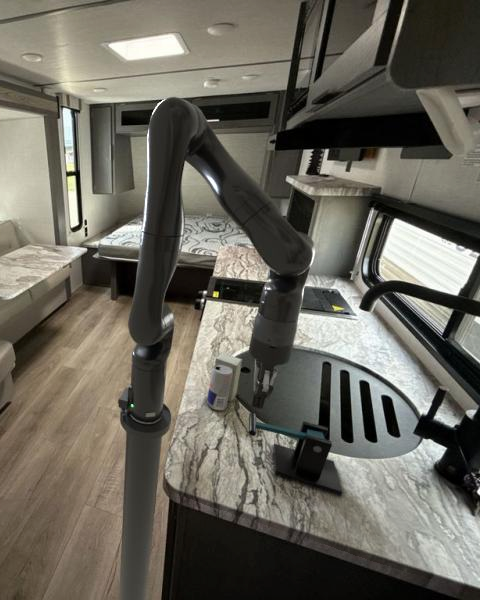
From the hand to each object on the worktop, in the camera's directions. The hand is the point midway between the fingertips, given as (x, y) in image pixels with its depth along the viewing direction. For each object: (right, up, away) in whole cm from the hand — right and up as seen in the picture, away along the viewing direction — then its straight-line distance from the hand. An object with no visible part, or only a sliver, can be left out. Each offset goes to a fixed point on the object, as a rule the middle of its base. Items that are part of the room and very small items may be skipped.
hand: (256, 405), depth 67 cm
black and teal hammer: (+6, -6, 0) cm, 9 cm away
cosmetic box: (+1, -5, +24) cm, 25 cm away
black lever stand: (+11, -14, +1) cm, 18 cm away
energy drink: (-2, -7, +20) cm, 21 cm away
